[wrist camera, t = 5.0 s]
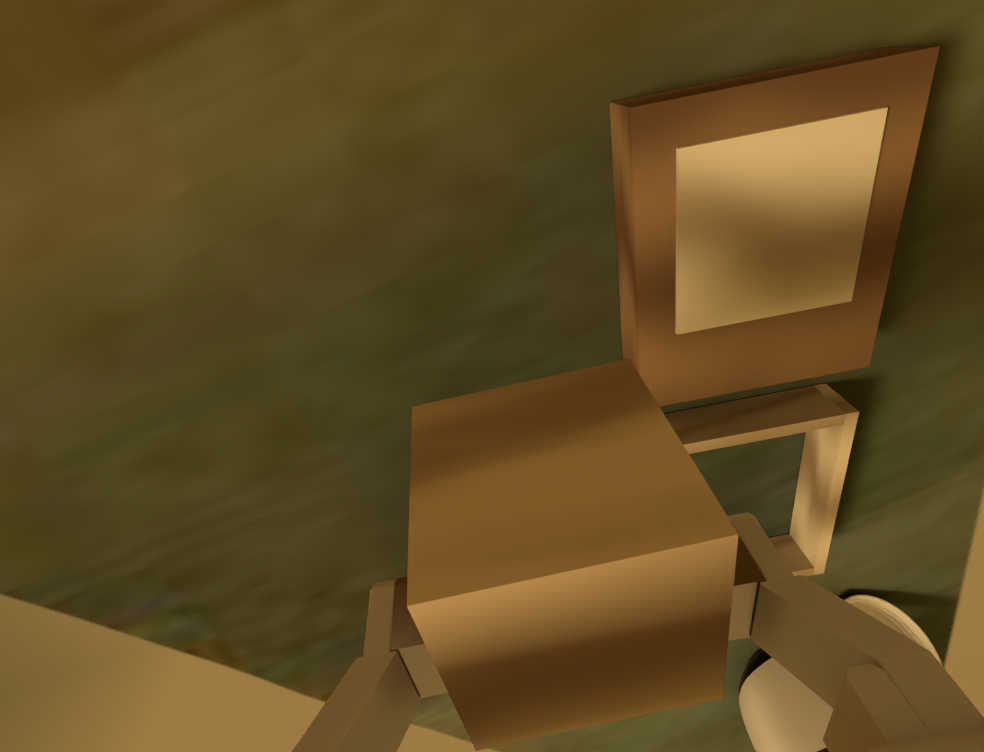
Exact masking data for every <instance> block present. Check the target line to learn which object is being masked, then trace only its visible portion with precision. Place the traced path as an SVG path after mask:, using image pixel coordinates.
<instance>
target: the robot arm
mask: <svg viewBox="0 0 984 752" xmlns="http://www.w3.org/2000/svg"><path fill="white" fill-rule="evenodd" d="M727 517H728V518H729V520H730V521H731V523H732V525H733V526H734V528H735V529H736V531H737V533H738V534H739V535H738V545H737V556H736V566H735V576H734V586H733V597H732V607H731V617H730V627H729V637H728V641H729V640H735V639H742V638H748V637H751V640H752V641H753V642H754V643H755V644H757V645H758V646H759V647H760V648H761V649H763V650H764V651H765V652H766V653H767V654H769V655H770V656H771V657H772V658H773V659H775V660H776V661H777V662H778V663H779V664H780V665H782V666H783V667H784V668H785V669H786V670H788V671H789V672H790V673H791V674H792V675H794V676H795V677H796V678H797V679H798V680H800V681H801V682H802V683H803V684H804V685H806V686H807V687H808V688H809V689H810V690H811V691H813V692H814V693H815V694H816V695H817V696H819V697H820V698H821V699H822V700H823V701H825V702H826V703H827V704H828V705H829V706H831V707H832V708H833V712H832V715H831V718H830V720H829V723H828V726H827V729H826V731H825V734H824V737H823V741H824V743H825V745H826V747H827V749H828V751H829V752H984V717H983V716H982V715H981V714H980V712H979V711H978V710H977V709H976V707H975V706H974V705H973V704H972V702H971V701H970V700H969V699H968V697H967V696H966V695H965V694H964V693H963V691H962V690H961V689H960V688H959V686H958V685H957V684H956V683H955V681H954V680H953V679H952V678H951V676H950V675H949V674H948V673H947V671H946V670H945V669H944V668H943V666H942V665H941V664H940V663H939V661H938V660H937V659H936V658H935V656H934V655H933V654H932V653H931V652H930V651H929V650H928V649H926V648H924V647H922V646H921V645H919V644H917V643H916V642H914V641H912V640H911V639H909V638H907V637H906V636H904V635H902V634H900V633H899V632H897V631H895V630H894V629H892V628H890V627H889V626H887V625H885V624H884V623H882V622H880V621H878V620H877V619H875V618H873V617H872V616H870V615H868V614H867V613H865V612H863V611H862V610H860V609H858V608H856V607H855V606H853V605H851V604H850V603H848V602H846V601H845V600H843V599H841V598H840V597H838V596H836V595H834V594H833V593H831V592H829V591H828V590H826V589H824V588H823V587H821V586H819V585H818V584H816V583H814V582H812V581H811V580H809V579H807V578H806V577H804V576H802V575H798V576H794V575H793V573H792V572H791V570H790V569H789V568H788V566H787V565H786V563H785V562H784V560H783V559H782V557H781V556H780V554H779V553H778V551H777V550H776V548H775V547H774V545H773V544H772V542H771V541H770V539H769V538H768V536H767V535H766V534H765V532H764V531H763V529H762V528H761V526H760V525H759V523H758V522H757V520H756V519H755V517H754V516H753V515H752V514H750V513H742V514H737V515H732V516H727ZM407 579H408V577H403V578H397V579H391V580H386V581H380V582H375V583H373V586H372V588H371V591H370V600H369V609H368V618H367V627H366V635H365V644H364V653H363V657H359V658H356V659H355V661H354V662H353V664H352V665H351V667H350V668H349V670H348V671H347V672H346V674H345V675H344V677H343V678H342V680H341V681H340V683H339V684H338V686H337V687H336V688H335V690H334V691H333V693H332V694H331V696H330V697H329V699H328V700H327V702H326V703H325V704H324V706H323V707H322V709H321V710H320V712H319V713H318V715H317V716H316V718H315V719H314V720H313V722H312V723H311V725H310V726H309V728H308V729H307V731H306V732H305V734H304V735H303V737H302V738H301V739H300V741H299V742H298V744H297V745H296V747H295V748H294V750H293V751H292V752H397V750H398V748H399V746H400V744H401V742H402V740H403V738H404V736H405V733H406V731H407V729H408V727H409V725H410V723H411V721H412V719H413V717H414V714H415V712H416V710H417V708H418V706H419V704H420V702H421V701H420V698H425V697H429V696H434V695H439V694H443V693H448V691H447V689H446V687H445V685H444V683H443V681H442V678H441V676H440V674H439V672H438V670H437V668H436V666H435V664H434V662H433V660H432V658H431V656H430V653H429V651H428V649H427V647H426V645H425V643H424V641H423V639H422V637H421V635H420V633H419V631H418V629H417V626H416V624H415V622H414V620H413V618H412V616H411V614H410V612H409V610H408V608H407Z"/></svg>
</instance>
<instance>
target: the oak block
mask: <svg viewBox="0 0 984 752" xmlns="http://www.w3.org/2000/svg"><path fill="white" fill-rule="evenodd" d="M738 535H739V534H738V533H737V531H736V529H735V528H734V526H733V525H732V523H731V521H730V520H729V518H728V517H727V515H726V513H725V512H724V510H723V509H722V507H721V505H720V504H719V502H718V500H717V499H716V497H715V496H714V494H713V492H712V491H711V489H710V488H709V486H708V484H707V483H706V481H705V480H704V478H703V476H702V475H701V473H700V471H699V470H698V468H697V467H696V465H695V463H694V462H693V460H692V459H691V457H690V455H689V454H688V452H687V451H686V449H685V447H684V446H683V444H682V442H681V441H680V439H679V438H678V436H677V434H676V433H675V431H674V430H673V428H672V426H671V425H670V423H669V422H668V420H667V418H666V417H665V415H664V413H663V412H662V410H661V409H660V407H659V405H658V404H657V402H656V401H655V399H654V397H653V396H652V394H651V393H650V391H649V389H648V388H647V386H646V384H645V383H644V381H643V380H642V378H641V376H640V375H639V373H638V372H637V370H636V368H635V367H634V365H633V364H632V362H631V360H630V359H626V360H621V361H617V362H612V363H608V364H603V365H599V366H594V367H590V368H585V369H581V370H576V371H572V372H567V373H563V374H558V375H554V376H549V377H545V378H540V379H536V380H531V381H527V382H522V383H518V384H513V385H509V386H504V387H500V388H495V389H491V390H486V391H482V392H477V393H473V394H468V395H464V396H459V397H455V398H450V399H446V400H441V401H437V402H432V403H428V404H423V405H419V406H414V407H412V430H411V467H410V505H409V542H408V579H407V608H408V610H409V612H410V614H411V616H412V618H413V620H414V622H415V624H416V626H417V629H418V631H419V633H420V635H421V637H422V639H423V641H424V643H425V645H426V647H427V649H428V651H429V653H430V656H431V658H432V660H433V662H434V664H435V666H436V668H437V670H438V672H439V674H440V676H441V678H442V681H443V683H444V685H445V687H446V689H447V691H448V693H449V695H450V697H451V699H452V701H453V703H454V705H455V708H456V710H457V712H458V714H459V716H460V718H461V720H462V722H463V724H464V726H465V728H466V730H467V733H468V735H469V737H470V739H471V741H472V743H473V745H474V747H475V749H476V750H481V749H486V748H491V747H495V746H500V745H505V744H509V743H514V742H519V741H524V740H528V739H533V738H538V737H543V736H547V735H552V734H557V733H561V732H566V731H571V730H576V729H580V728H585V727H590V726H594V725H599V724H604V723H609V722H613V721H618V720H623V719H628V718H632V717H637V716H642V715H646V714H651V713H656V712H661V711H665V710H670V709H675V708H680V707H684V706H689V705H694V704H698V703H703V702H708V701H713V700H717V699H722V698H723V689H724V678H725V668H726V658H727V648H728V637H729V627H730V617H731V607H732V597H733V586H734V576H735V566H736V556H737V545H738Z"/></svg>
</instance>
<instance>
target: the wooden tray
mask: <svg viewBox="0 0 984 752" xmlns="http://www.w3.org/2000/svg"><path fill="white" fill-rule="evenodd" d="M939 48H940V46H926V47H889V48H880V49H875V50H870V51H865V52H860V53H855V54H850V55H845V56H840V57H835V58H830V59H825V60H820V61H815V62H810V63H805V64H800V65H795V66H790V67H785V68H779V69H774V70H769V71H764V72H759V73H754V74H749V75H744V76H739V77H734V78H729V79H724V80H719V81H714V82H709V83H704V84H699V85H694V86H689V87H684V88H679V89H674V90H669V91H664V92H659V93H654V94H649V95H644V96H639V97H634V98H629V99H624V100H619V101H614V102H609V103H610V122H611V141H612V160H613V179H614V198H615V217H616V236H617V254H618V273H619V292H620V311H621V330H622V349H623V360H626V359H630V360H631V362H632V364H633V365H634V367H635V368H636V370H637V372H638V373H639V375H640V376H641V378H642V380H643V381H644V383H645V384H646V386H647V388H648V389H649V391H650V393H651V394H652V396H653V397H654V399H655V401H656V402H657V404H658V405H659V407H660V406H665V405H671V404H676V403H681V402H686V401H692V400H697V399H702V398H708V397H713V396H718V395H723V394H729V393H734V392H739V391H744V390H750V389H755V388H760V387H765V386H771V385H776V384H781V383H786V382H792V381H797V380H802V379H807V378H813V377H818V376H823V375H829V374H834V373H839V372H844V371H850V370H855V369H860V368H865V367H869V365H870V361H871V356H872V352H873V347H874V343H875V338H876V334H877V329H878V325H879V320H880V315H881V311H882V306H883V302H884V297H885V293H886V288H887V284H888V279H889V275H890V270H891V266H892V261H893V256H894V252H895V247H896V243H897V238H898V234H899V229H900V225H901V220H902V216H903V211H904V207H905V202H906V198H907V193H908V188H909V184H910V179H911V175H912V170H913V166H914V161H915V157H916V152H917V148H918V143H919V139H920V134H921V130H922V125H923V120H924V116H925V111H926V107H927V102H928V98H929V93H930V89H931V84H932V80H933V75H934V71H935V66H936V62H937V57H938V52H939ZM664 415H665V417H666V418H667V420H668V422H669V423H670V425H671V426H672V428H673V430H674V431H675V433H676V434H677V436H678V438H679V439H680V441H681V442H682V444H683V446H684V447H685V449H686V451H687V452H688V454H691V453H696V452H702V451H707V450H712V449H717V448H723V447H728V446H733V445H739V444H744V443H749V442H755V441H760V440H765V439H771V438H776V437H781V436H786V435H792V434H797V433H802V432H806V435H805V441H804V447H803V453H802V460H801V466H800V472H799V478H798V484H797V490H796V497H795V503H794V509H793V515H792V521H791V527H790V534H786V535H781V536H776V537H770V538H769V539H770V541H771V542H772V544H773V545H774V547H775V548H776V550H777V551H778V553H779V554H780V556H781V557H782V559H783V560H784V562H785V563H786V565H787V566H788V568H789V569H790V570H791V572H792V573H793V575H794V576H798V575H802V576H804V577H805V576H811V575H816V574H821V573H824V569H825V565H826V560H827V556H828V551H829V547H830V542H831V538H832V533H833V529H834V524H835V519H836V515H837V510H838V506H839V501H840V497H841V492H842V488H843V483H844V479H845V474H846V470H847V465H848V461H849V456H850V451H851V447H852V442H853V438H854V433H855V429H856V424H857V420H858V415H859V411H858V410H857V409H855V408H854V407H853V406H852V405H851V404H850V403H848V402H847V401H846V400H845V399H844V398H842V397H841V396H840V395H839V394H838V393H836V392H835V391H834V390H833V389H832V388H830V387H829V386H828V385H827V384H826V383H825V384H819V385H814V386H809V387H803V388H798V389H793V390H788V391H782V392H777V393H772V394H767V395H761V396H756V397H751V398H746V399H740V400H735V401H730V402H724V403H719V404H714V405H709V406H703V407H698V408H693V409H688V410H682V411H677V412H672V413H667V414H664Z"/></svg>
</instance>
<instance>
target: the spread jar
mask: <svg viewBox="0 0 984 752" xmlns="http://www.w3.org/2000/svg"><path fill="white" fill-rule="evenodd" d="M844 600H845V601H846V602H848V603H850V604H851V605H853V606H855V607H856V608H858V609H860V610H862V611H863V612H865V613H867V614H868V615H870V616H872V617H873V618H875V619H877V620H878V621H880V622H882V623H884V624H885V625H887V626H889V627H890V628H892V629H894V630H895V631H897V632H899V633H900V634H902V635H904V636H906V637H907V638H909V639H911V640H912V641H914V642H916V643H917V644H919V645H921V646H922V647H924V648H926V649H928V650H929V651H930V652H931V653H932V654H933V655H934V656H935V658H936V659H937V660H938V661H939V663H940V664H941V665H942V662H941V659H940V657H939V655H938V653H937V651H936V649H935V648H934V646H933V644H932V643H931V641H930V640H929V638H928V637H927V635H926V634H925V633H924V632H923V631H922V629H921V628H920V627H919V626H918V625H917V624H916V623H915V622H914V621H913V620H912V619H911V618H910V617H909V616H908V615H907V614H905V613H904V612H903V611H901V610H900V609H899V608H897V607H896V606H894V605H892V604H891V603H889V602H887V601H885V600H883V599H880V598H878V597H874V596H870V595H854V596H850V597H848V598H846V599H844ZM942 666H943V665H942ZM739 705H740V709H741V714H742V718H743V721H744V724H745V726H746V729H747V732H748V734H749V737H750V739H751V741H752V744H753V746H754V748H755V750H756V752H829V751H828V749H827V747H826V745H825V743H824V741H823V737H824V734H825V731H826V729H827V726H828V723H829V720H830V718H831V715H832V712H833V708H832V707H831V706H829V705H828V704H827V703H826V702H825V701H823V700H822V699H821V698H820V697H819V696H817V695H816V694H815V693H814V692H813V691H811V690H810V689H809V688H808V687H807V686H806V685H804V684H803V683H802V682H801V681H800V680H798V679H797V678H796V677H795V676H794V675H792V674H791V673H790V672H789V671H788V670H786V669H785V668H784V667H783V666H782V665H780V664H779V663H778V662H777V661H776V660H775V659H773V658H772V657H771V656H770V655H769V654H767V653H766V652H765V651H764V650H763V649H761V650H759V651H758V652H757V653H756V654H755V655H754V656H753V657H752V658H751V660H750V661H749V663H748V664H747V666H746V668H745V670H744V672H743V674H742V677H741V681H740V686H739Z"/></svg>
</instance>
